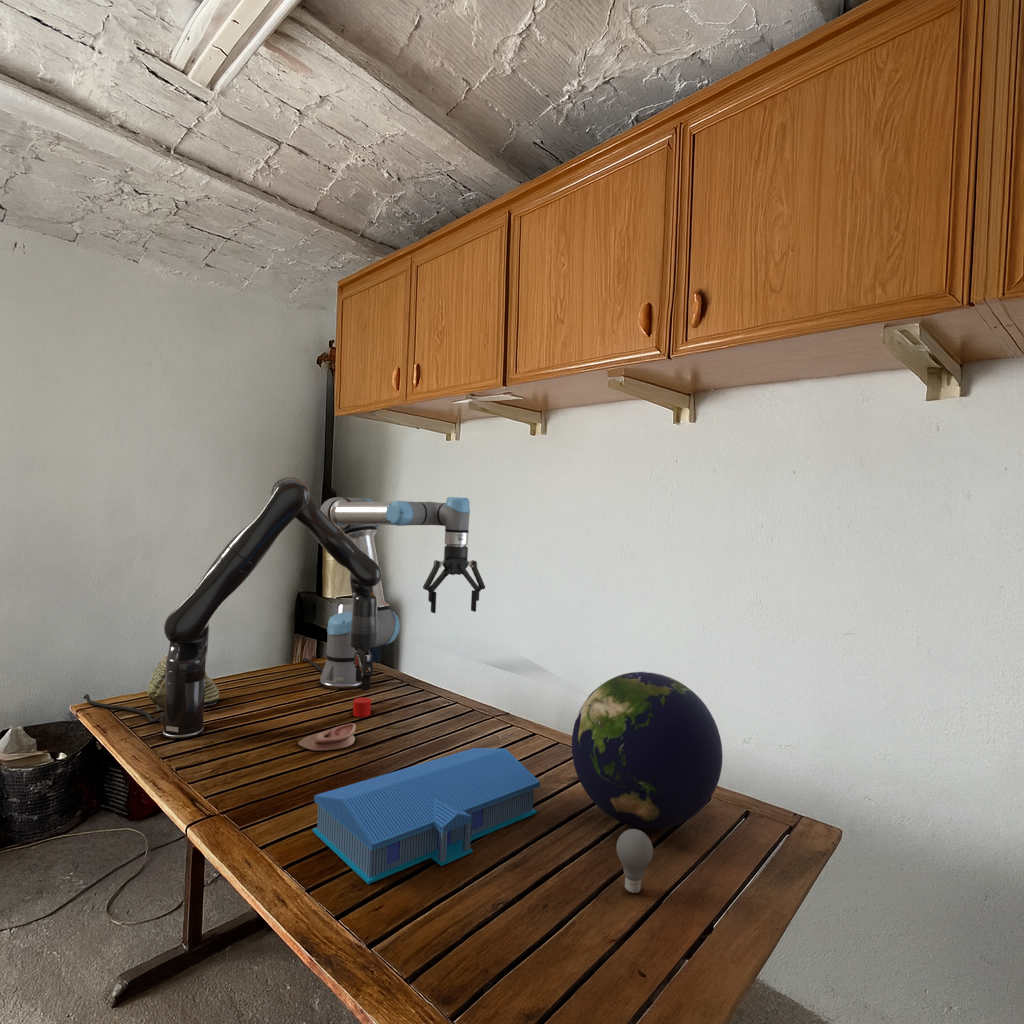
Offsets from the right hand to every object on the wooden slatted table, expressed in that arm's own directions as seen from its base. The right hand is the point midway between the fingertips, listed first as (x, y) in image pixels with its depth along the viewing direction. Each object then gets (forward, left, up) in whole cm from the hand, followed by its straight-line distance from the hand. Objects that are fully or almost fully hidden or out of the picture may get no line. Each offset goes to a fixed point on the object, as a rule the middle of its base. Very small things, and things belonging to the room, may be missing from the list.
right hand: (453, 611), depth 203 cm
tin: (+7, -29, -28) cm, 41 cm away
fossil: (-15, -77, -28) cm, 83 cm away
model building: (+74, -28, -28) cm, 84 cm away
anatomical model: (+26, -42, -28) cm, 56 cm away
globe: (+86, +12, -28) cm, 92 cm away
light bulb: (+105, -3, -28) cm, 109 cm away
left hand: (+8, -30, -19) cm, 36 cm away
